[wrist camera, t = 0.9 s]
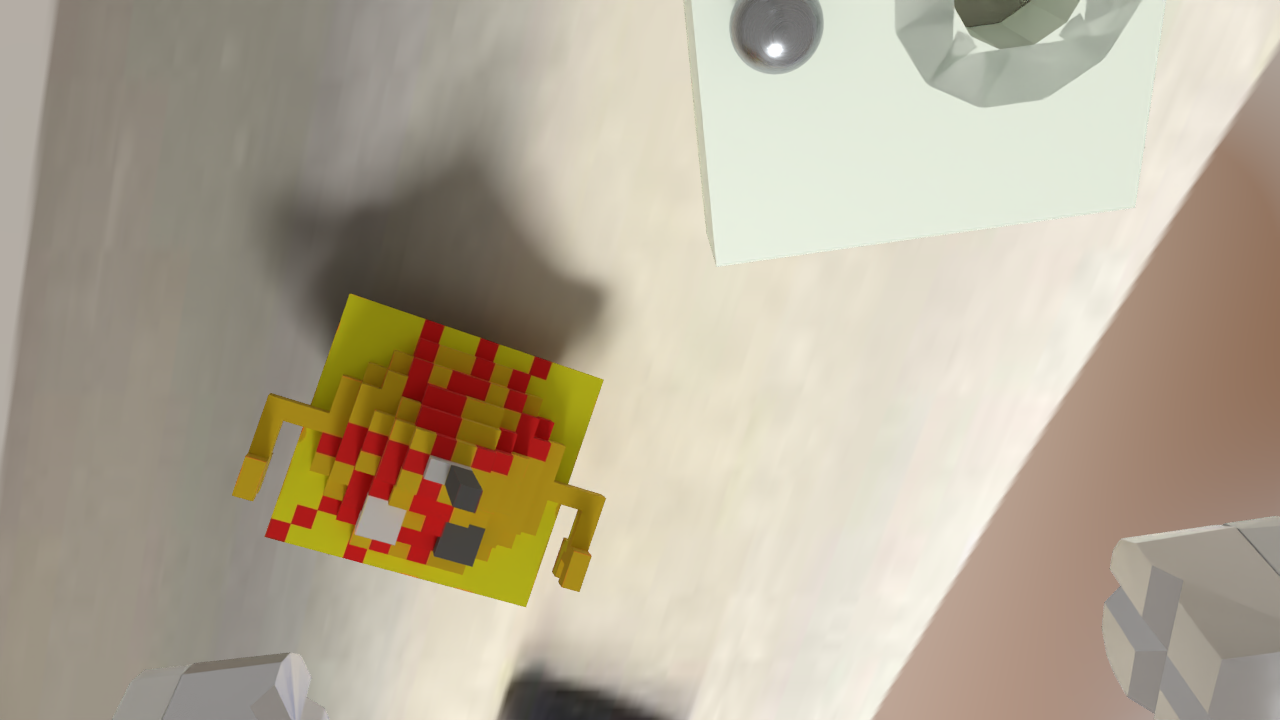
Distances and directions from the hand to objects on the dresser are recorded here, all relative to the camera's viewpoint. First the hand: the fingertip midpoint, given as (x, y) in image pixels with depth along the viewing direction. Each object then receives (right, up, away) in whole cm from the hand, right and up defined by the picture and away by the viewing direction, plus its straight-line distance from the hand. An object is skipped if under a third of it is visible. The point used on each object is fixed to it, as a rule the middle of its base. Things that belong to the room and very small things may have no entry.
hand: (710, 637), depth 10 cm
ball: (+4, +13, +22) cm, 26 cm away
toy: (-9, +1, +34) cm, 35 cm away
